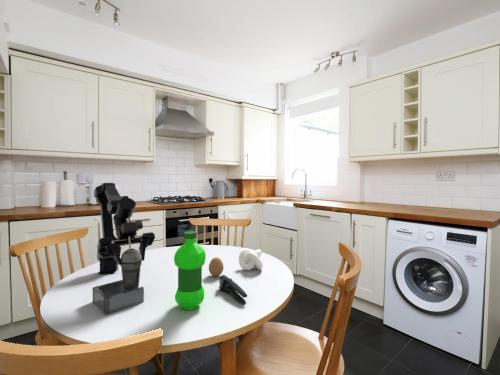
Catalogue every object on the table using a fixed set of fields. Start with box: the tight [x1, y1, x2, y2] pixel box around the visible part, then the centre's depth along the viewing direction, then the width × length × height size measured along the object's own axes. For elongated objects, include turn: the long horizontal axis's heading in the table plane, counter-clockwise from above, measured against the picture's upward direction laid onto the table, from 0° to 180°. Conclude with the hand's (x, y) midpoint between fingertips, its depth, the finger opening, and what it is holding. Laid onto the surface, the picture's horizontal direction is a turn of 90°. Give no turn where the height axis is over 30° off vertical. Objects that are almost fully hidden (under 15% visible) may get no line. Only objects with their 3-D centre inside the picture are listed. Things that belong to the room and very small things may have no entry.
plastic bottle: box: [173, 230, 207, 311], centre depth 87 cm, size 10×10×25 cm
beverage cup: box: [120, 236, 143, 292], centre depth 92 cm, size 7×7×20 cm
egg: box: [208, 257, 224, 277], centre depth 115 cm, size 6×6×8 cm
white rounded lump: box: [238, 248, 264, 271], centre depth 126 cm, size 11×12×9 cm
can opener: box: [218, 274, 248, 305], centre depth 97 cm, size 18×7×6 cm, turn 31°
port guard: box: [92, 279, 145, 316], centre depth 90 cm, size 12×12×5 cm
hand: (132, 262), depth 91 cm, fingers closed on beverage cup, 7 cm apart
